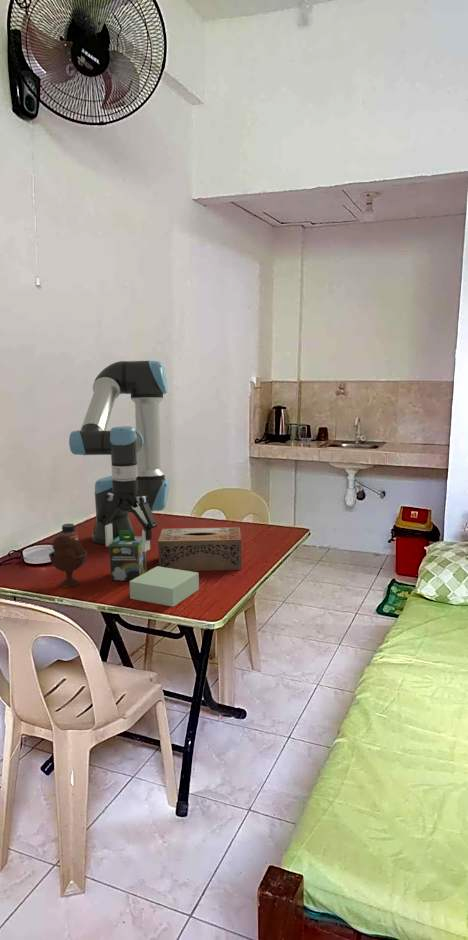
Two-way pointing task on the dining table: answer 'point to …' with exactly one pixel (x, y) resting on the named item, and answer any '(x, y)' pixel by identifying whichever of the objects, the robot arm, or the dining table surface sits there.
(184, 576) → the plinth
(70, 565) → the ice cream bowl
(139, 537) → the chalk box
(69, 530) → the supplement bottle
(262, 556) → the dining table surface
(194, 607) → the dining table surface
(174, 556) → the tissue box cover
